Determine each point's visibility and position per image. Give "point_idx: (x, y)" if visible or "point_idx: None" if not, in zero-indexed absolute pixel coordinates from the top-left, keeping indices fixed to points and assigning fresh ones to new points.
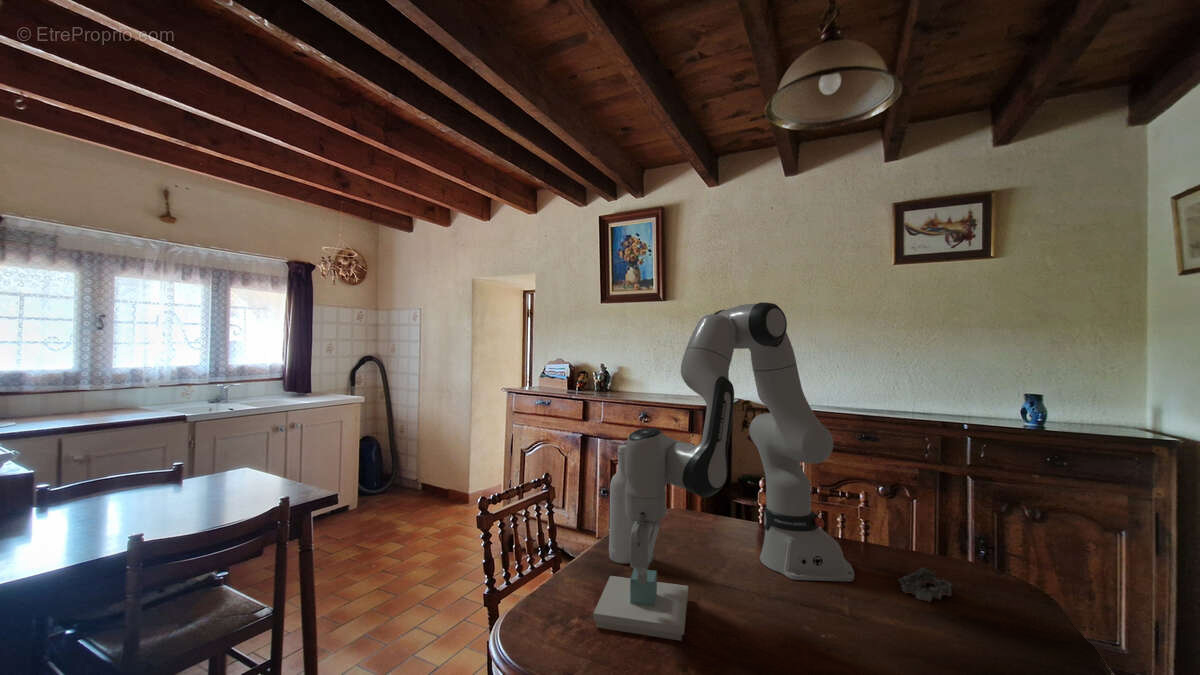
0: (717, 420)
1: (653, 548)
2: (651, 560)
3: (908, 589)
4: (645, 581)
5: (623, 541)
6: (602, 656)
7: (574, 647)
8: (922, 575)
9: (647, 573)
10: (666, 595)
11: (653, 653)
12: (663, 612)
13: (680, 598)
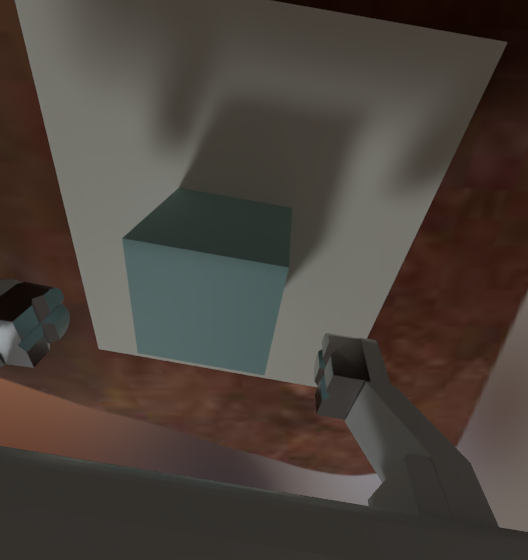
0: None
1: (142, 510)
2: (49, 294)
3: None
4: (378, 351)
5: None
6: (467, 337)
7: (413, 387)
8: None
9: (179, 297)
10: (176, 134)
11: (498, 199)
12: (344, 163)
13: (186, 39)
